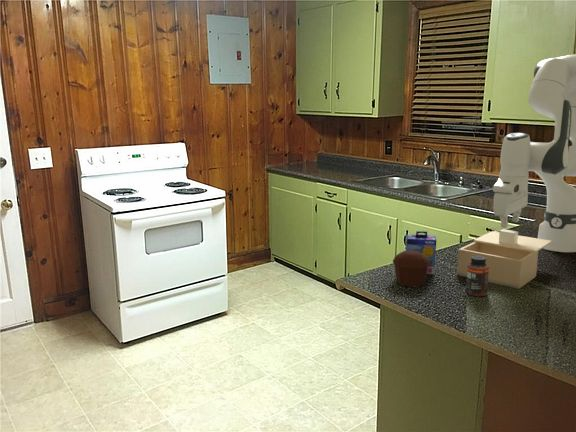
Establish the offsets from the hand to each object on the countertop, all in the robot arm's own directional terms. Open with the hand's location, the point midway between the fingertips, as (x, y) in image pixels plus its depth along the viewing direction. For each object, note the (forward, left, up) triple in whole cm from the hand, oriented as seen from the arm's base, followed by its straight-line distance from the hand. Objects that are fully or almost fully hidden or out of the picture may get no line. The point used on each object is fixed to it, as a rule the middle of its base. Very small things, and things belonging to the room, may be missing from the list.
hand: (509, 224), depth 171 cm
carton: (+8, 0, -16) cm, 18 cm away
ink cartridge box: (+21, -21, -16) cm, 34 cm away
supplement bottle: (+28, +2, -16) cm, 32 cm away
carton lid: (-4, 0, -7) cm, 8 cm away
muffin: (+32, -18, -16) cm, 40 cm away
